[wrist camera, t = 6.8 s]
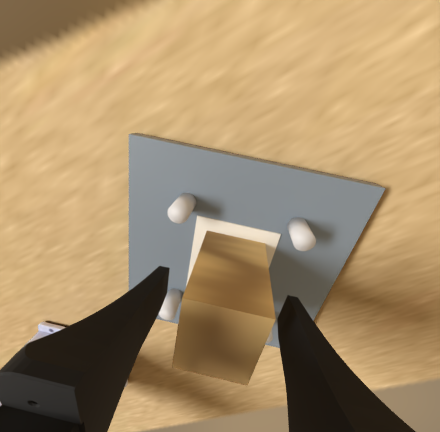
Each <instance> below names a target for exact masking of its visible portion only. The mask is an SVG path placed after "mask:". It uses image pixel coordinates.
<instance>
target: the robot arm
mask: <svg viewBox="0 0 440 432" xmlns="http://www.w3.org/2000/svg"><path fill="white" fill-rule="evenodd" d="M169 270H170V268H168V267H163V266H159V267H157V268H156V269H155V270H154V271H153V272H152V273H151V274H149V275H148V276H147V277H146V278H145V279H144V280H142V281H141V282H140V283H139V284H137V285H136V286H135V287H134V288H132V289H131V290H130V291H128V292H127V293H125V294H124V295H123V296H121V297H120V298H118V299H117V300H115V301H114V302H112V303H111V304H109V305H108V306H106V307H104V308H103V309H101V310H99V311H98V312H96V313H94V314H92V315H90V316H89V317H87V318H85V319H83V320H81V321H79V322H77V323H74V324H72V325H70V326H68V327H63V326H59V325H55V324H51V323H47V322H41V323H40V324H39V325H38V329H39V331H38V332H37V333H36V334H35V335H34V336H33V337H32V338H31V339H30V340H29V341H28V342H27V343H26V344H25V345H24V347H23V348H22V349H21V350H20V351H18V352H17V353H16V354H15V355H14V356H13V357H12V358H11V359H10V360H9V362H8V363H7V364H6V365H5V366H4V367H3V368H2V369H1V370H0V432H107V431H108V428H109V426H110V423H111V420H112V418H113V415H114V412H115V410H116V407H117V405H118V402H119V400H120V397H121V394H122V392H123V389H124V387H126V386H127V384H128V377H129V375H130V372H131V370H132V367H133V365H134V362H135V360H136V358H137V355H138V353H139V351H140V349H141V346H142V344H143V342H144V341H145V339H146V337H147V335H148V333H149V331H150V329H151V327H152V325H153V323H154V321H155V319H156V318H157V316H158V314H159V312H160V310H161V307H162V305H163V302H164V300H165V297H166V295H167V289H168V280H169ZM277 323H278V339H279V345H280V352H281V358H282V364H283V370H284V376H285V383H286V392H287V405H288V420H289V432H415V431H414V430H413V429H412V428H410V427H409V426H408V425H407V424H406V423H404V421H403V420H401V419H400V418H399V417H398V416H397V415H396V414H395V413H394V412H392V411H391V410H390V409H389V408H388V407H387V406H386V405H385V404H384V403H383V402H382V401H381V400H380V399H379V398H378V397H377V396H376V395H375V394H374V393H373V392H372V391H371V390H370V389H369V388H368V387H367V386H366V385H365V384H364V383H363V382H362V381H361V380H360V379H359V378H358V377H357V376H356V375H355V374H354V372H353V371H352V370H351V369H350V368H349V367H348V366H347V365H346V363H345V362H344V361H343V360H342V359H341V358H340V356H339V355H338V354H337V353H336V351H335V350H334V349H333V348H332V346H331V345H330V344H329V342H328V341H327V340H326V338H325V337H324V336H323V334H322V333H321V331H320V330H319V329H318V327H317V326H316V324H315V323H314V321H313V320H312V318H311V317H310V315H309V314H308V312H307V311H306V309H305V307H304V306H303V304H302V303H301V301H300V300H299V298H298V297H294V296H290V295H287V298H286V300H285V302H284V305H283V307H282V309H281V311H280V314H279V316H278V318H277Z"/></svg>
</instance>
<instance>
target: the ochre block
mask: <svg viewBox="0 0 440 432" xmlns="http://www.w3.org/2000/svg"><path fill="white" fill-rule="evenodd" d="M275 320H276V318H275V311H274V303H273V296H272V289H271V282H270V274H269V267H268V260H267V253H266V246H265V243H261V242H257V241H252V240H248V239H243V238H239V237H234V236H230V235H225V234H221V233H216V232H212V231H206V234H205V237H204V240H203V242H202V245H201V248H200V251H199V253H198V256H197V259H196V262H195V264H194V267H193V270H192V273H191V275H190V278H189V281H188V283H187V286H186V289H185V292H184V294H183V297H182V303H181V310H180V316H179V323H178V330H177V337H176V343H175V350H174V357H173V364H172V367H173V368H177V369H182V370H186V371H190V372H194V373H198V374H202V375H206V376H210V377H214V378H219V379H223V380H227V381H231V382H235V383H239V384H243V385H248V383H249V380H250V378H251V376H252V373H253V371H254V369H255V366H256V364H257V362H258V360H259V357H260V355H261V353H262V350H263V348H264V346H265V343H266V341H267V339H268V336H269V334H270V332H271V329H272V327H273V325H274V323H275Z"/></svg>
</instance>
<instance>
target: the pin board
mask: <svg viewBox="0 0 440 432" xmlns="http://www.w3.org/2000/svg"><path fill="white" fill-rule="evenodd" d="M385 189H386V188H384V187H382V186H380V185H378V184H376V183H371V182H367V181H362V180H357V179H352V178H348V177H343V176H338V175H333V174H329V173H324V172H319V171H314V170H310V169H305V168H300V167H296V166H291V165H286V164H281V163H277V162H272V161H267V160H262V159H258V158H253V157H248V156H244V155H239V154H234V153H229V152H225V151H220V150H215V149H210V148H206V147H201V146H196V145H191V144H187V143H182V142H177V141H173V140H168V139H163V138H158V137H154V136H149V135H144V134H139V133H133V134H129V291H130V290H131V289H132V288H134V287H135V286H136V285H137V284H139V283H140V282H141V281H142V280H144V279H145V278H146V277H147V276H148V275H149V274H151V273H152V272H153V271H154V270H155V269H156V268H157V267H159V266H163V267H168V268H170V270H169V280H168V289H167V295H166V297H165V300H164V302H163V305H162V307H161V310H160V312H159V314H158V316H157V318H156V319H160V320H164V321H168V322H172V323H177V324H178V323H179V316H180V310H181V303H182V297H183V294H184V292H185V289H186V286H187V283H188V281H189V278H190V275H191V273H192V270H193V267H194V264H195V262H196V259H197V256H198V253H199V251H200V248H201V245H202V242H203V240H204V237H205V234H206V231H212V232H216V233H221V234H225V235H230V236H234V237H239V238H243V239H248V240H252V241H257V242H261V243H265V246H266V253H267V260H268V267H269V274H270V282H271V289H272V296H273V303H274V311H275V318H276V320H275V323H274V325H273V327H272V329H271V332H270V334H269V336H268V339H267V341H266V343H265V345H269V346H274V347H278V348H280V345H279V339H278V323H277V318H278V316H279V314H280V311H281V309H282V307H283V305H284V302H285V300H286V298H287V295H290V296H294V297H298V298H299V300H300V301H301V303H302V304H303V306H304V307H305V309H306V311H307V312H308V314H309V315H310V317H311V318H312V320H313V321H314V319H315V317H316V315H317V313H318V311H319V310H320V308H321V306H322V304H323V302H324V300H325V299H326V297H327V295H328V293H329V291H330V289H331V288H332V286H333V284H334V282H335V280H336V278H337V277H338V275H339V273H340V271H341V269H342V267H343V266H344V264H345V262H346V260H347V258H348V256H349V255H350V253H351V251H352V249H353V247H354V245H355V244H356V242H357V240H358V238H359V236H360V234H361V233H362V231H363V229H364V227H365V225H366V223H367V222H368V220H369V218H370V216H371V214H372V212H373V211H374V209H375V207H376V205H377V203H378V201H379V200H380V198H381V196H382V194H383V192H384V190H385Z"/></svg>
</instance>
